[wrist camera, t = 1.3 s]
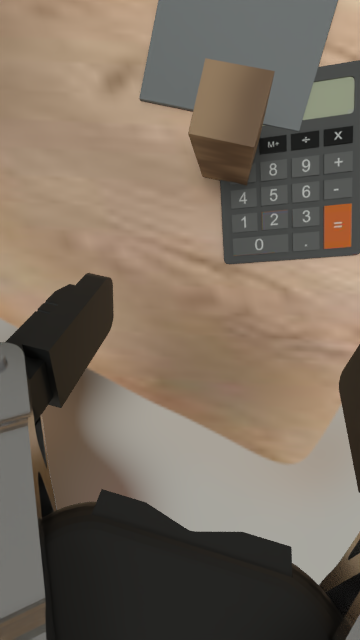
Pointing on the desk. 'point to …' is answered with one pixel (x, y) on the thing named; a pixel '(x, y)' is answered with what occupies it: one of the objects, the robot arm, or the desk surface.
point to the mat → (238, 49)
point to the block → (229, 119)
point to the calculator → (302, 181)
